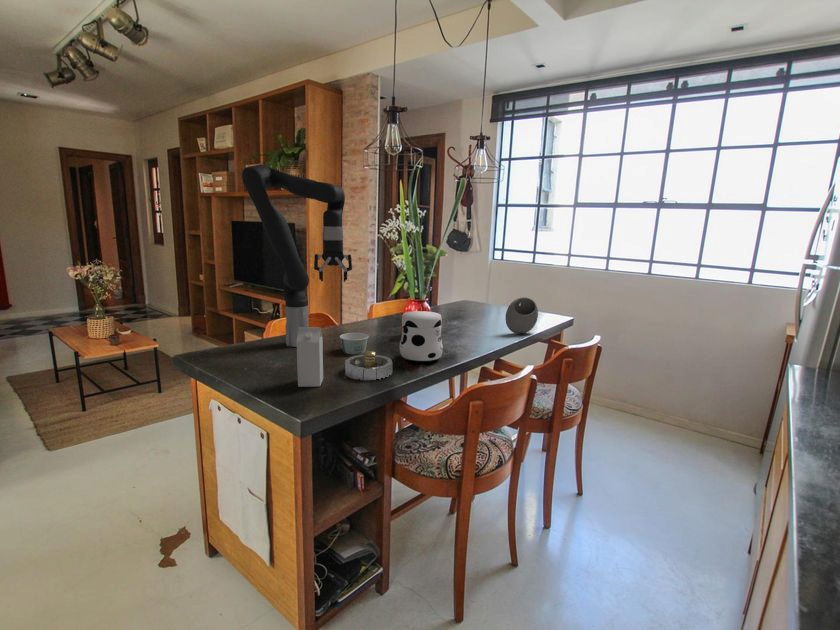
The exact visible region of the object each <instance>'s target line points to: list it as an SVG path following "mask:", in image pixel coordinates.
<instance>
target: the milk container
mask: <svg viewBox="0 0 840 630" xmlns="http://www.w3.org/2000/svg"><path fill="white" fill-rule="evenodd" d="M442 320H443V319H442V315H441V314H440V313H438V312H433V311H426V310H423V311H422V310H417V311H407V312H404V313H403V314H402V317H401V338H400V341H399V355H400V356H401V358H402V359H404V360H405V361H409V362H413V363H431V362H435V361H437V360H440V358H441V357H442V354H443V351H444V344H443V340H442V323H443V321H442Z"/></svg>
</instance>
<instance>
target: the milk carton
mask: <svg viewBox="0 0 840 630" xmlns="http://www.w3.org/2000/svg"><path fill="white" fill-rule="evenodd" d="M321 329H322V328H321V326H319V327H318V326H317V327H315V326H313V327H298V336H297V347H296V362H297V363H296V365H297V371H296V372H297V387H298V388H299V387H307V388H308V387H309V388H310V387H312V388H313V387H315V388H316V387H321V384H322V382H323V380H324V362H323V361H324V359H323V358H324V356H323V355H324V351H323V350H324V349H323V343H324V342H323V333H322V330H321Z"/></svg>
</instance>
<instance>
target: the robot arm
mask: <svg viewBox="0 0 840 630" xmlns="http://www.w3.org/2000/svg"><path fill="white" fill-rule="evenodd" d="M241 180H242V182H243V185H244V187H245V189H246V191H247V193H248V195H249V197H250V199H251V201H252V203H253V205H254V207H255V209H256V211H257V214H258V216H259V219H260V221H261V223H262V226H263V228H264V229H263V230H264V232H265V234H266V237H267V239H268V241H269V243H270V245H271V247H272V248H273V250H274V252H275V253H276V255H277V257H278V258H279V259H280V262H281V263H282V266H283V269H284V273H283V277H282V283H283V285H282V286H283V297H284V302H285V322H286V323H285V345H286V346H285V347H292V348H293V347H294V348H297V336H298V327H309V326H310V325H309V300H308V297H307V294H306V293H307V292H306V289H307V288H308V286H309V284H310V277H309V274H308V272H307V270H306V268H305V267H304V264H303V262H302V260H301V258H300V256H299V253H298V250H297V247H296V244H295V240H294V237H293V235H292V232H291V229H290V227H289V224H288V221H287V219H286V218H285V216H284V215H283V214H282V213H281V212H280V211H279V209H277V207H276V206H275V205H274V204H273V203H272V202H271V200H270V197H269V195H268V192H267V189H268V188H276V189H283V190H286V191H288V192H289V193H291V194H292V195H295V196H296V197H297V196H298V197H301V198H305V199H309V200H316V201H318V202H321V203H326V204H327V208H326V210H325V211H324V212H323V215H322V226H323V227H322V254H318V253H315V254H314V261H313V262H314V263H313V268H314V270H315V271H318V273H319V274H318V277H319V278H318V279H319V280H320V282H324V271H323V270H324V269H325V268H326V266H335V267H337V266H340V267H341V269H342V270H343V282H346V281H347V280H348V272H351V271H352V270H353V262H352V261H353V260H352V255H351V254H344V233H343V213H344V207H345V201H346V196H345V191H344V189H343V188H342V187H341V186H340V185H338V184H333V183H328V182H322V181H317V180H314V179H310V178H306V177H302V176H296V175H292V174H290V173H286V172H283V171H280V170H277V169H275V168H273V167H271V166H268V165H265V164H262V163H261V164H255V165H250V166H246V167H244V168H243V169H242V171H241ZM321 259H322V260H323V261H324V262H323V264H322V265H321V266H320V267H319V261H320V260H321ZM344 259H345V260H346V261H348V262H347V263H348V267H347V266H346V265H345V264H344V263H343V262H342V261H343V260H344Z"/></svg>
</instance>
